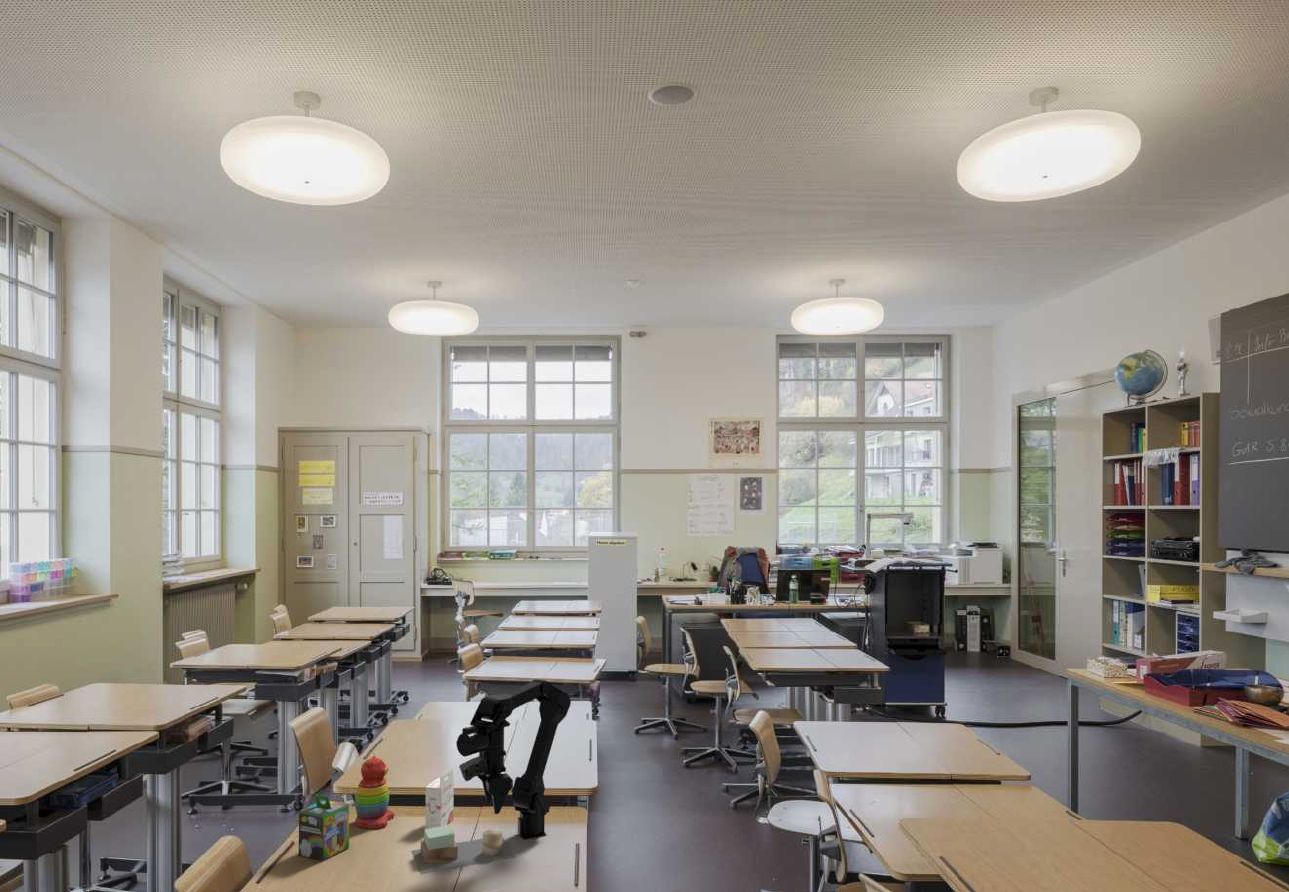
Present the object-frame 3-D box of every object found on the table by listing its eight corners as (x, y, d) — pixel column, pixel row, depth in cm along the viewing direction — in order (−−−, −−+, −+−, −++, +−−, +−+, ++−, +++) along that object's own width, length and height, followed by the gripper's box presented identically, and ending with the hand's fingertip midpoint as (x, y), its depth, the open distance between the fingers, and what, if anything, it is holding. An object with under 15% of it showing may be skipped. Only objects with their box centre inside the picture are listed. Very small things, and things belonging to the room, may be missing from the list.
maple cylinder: (499, 847, 216) (499, 827, 217) (504, 854, 212) (504, 834, 212) (480, 850, 214) (480, 831, 215) (484, 858, 210) (485, 838, 210)
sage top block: (449, 836, 216) (449, 825, 216) (454, 846, 210) (454, 834, 210) (424, 841, 213) (424, 829, 213) (428, 850, 207) (428, 838, 207)
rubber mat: (501, 836, 224) (501, 835, 224) (516, 858, 210) (516, 856, 210) (411, 852, 214) (411, 850, 214) (420, 875, 201) (420, 874, 201)
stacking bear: (384, 829, 230) (385, 764, 231) (348, 829, 230) (349, 764, 231) (396, 814, 240) (397, 752, 242) (362, 814, 241) (363, 752, 242)
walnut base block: (451, 847, 217) (451, 835, 217) (457, 858, 209) (457, 846, 210) (420, 852, 213) (420, 840, 214) (425, 864, 206) (425, 852, 206)
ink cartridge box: (437, 818, 238) (438, 766, 239) (453, 819, 237) (454, 767, 238) (424, 829, 229) (425, 776, 230) (440, 831, 228) (441, 777, 229)
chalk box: (349, 848, 217) (351, 791, 218) (323, 862, 209) (324, 802, 210) (324, 842, 221) (325, 786, 222) (296, 855, 213) (298, 797, 214)
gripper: (455, 741, 220) (454, 800, 219) (469, 760, 203) (469, 825, 202) (496, 736, 225) (495, 794, 224) (513, 755, 208) (513, 818, 207)
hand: (492, 807), depth 214 cm, fingers open, 9 cm apart
